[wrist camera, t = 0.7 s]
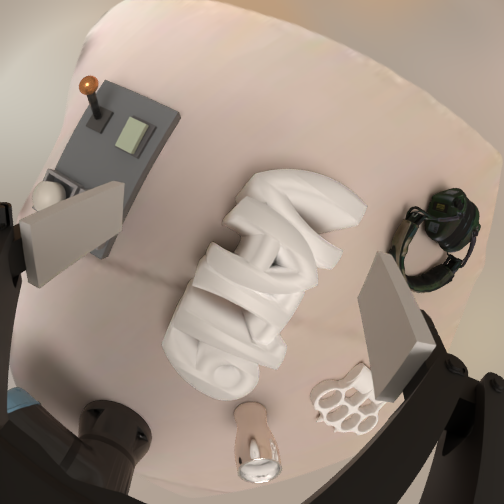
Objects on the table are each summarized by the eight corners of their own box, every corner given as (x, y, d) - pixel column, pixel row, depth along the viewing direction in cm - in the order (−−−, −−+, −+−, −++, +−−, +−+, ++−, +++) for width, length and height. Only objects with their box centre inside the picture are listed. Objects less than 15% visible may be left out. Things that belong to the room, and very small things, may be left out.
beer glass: (225, 420, 49) (228, 479, 34) (241, 395, 48) (249, 453, 34) (258, 430, 50) (269, 486, 35) (275, 405, 49) (292, 462, 35)
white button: (58, 217, 36) (48, 218, 33) (39, 204, 35) (28, 204, 32) (70, 189, 36) (60, 189, 33) (50, 177, 35) (39, 176, 32)
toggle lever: (99, 127, 36) (87, 88, 27) (86, 121, 35) (73, 83, 26) (110, 114, 36) (101, 74, 28) (97, 108, 36) (86, 69, 27)
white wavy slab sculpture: (267, 149, 43) (281, 132, 33) (352, 210, 46) (385, 212, 35) (149, 337, 45) (133, 369, 35) (234, 383, 48) (238, 421, 38)
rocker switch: (133, 154, 37) (130, 153, 36) (118, 145, 36) (114, 145, 35) (148, 125, 36) (146, 124, 35) (132, 117, 35) (129, 116, 34)
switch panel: (108, 256, 43) (94, 262, 37) (44, 216, 40) (27, 217, 35) (181, 117, 41) (175, 106, 35) (111, 86, 39) (99, 73, 33)
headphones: (430, 159, 40) (370, 262, 44) (498, 200, 32) (435, 312, 37) (434, 187, 50) (385, 270, 55) (487, 221, 43) (436, 308, 47)
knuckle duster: (396, 391, 53) (347, 436, 53) (349, 350, 50) (292, 404, 50) (403, 399, 49) (352, 446, 50) (356, 359, 46) (296, 415, 47)
